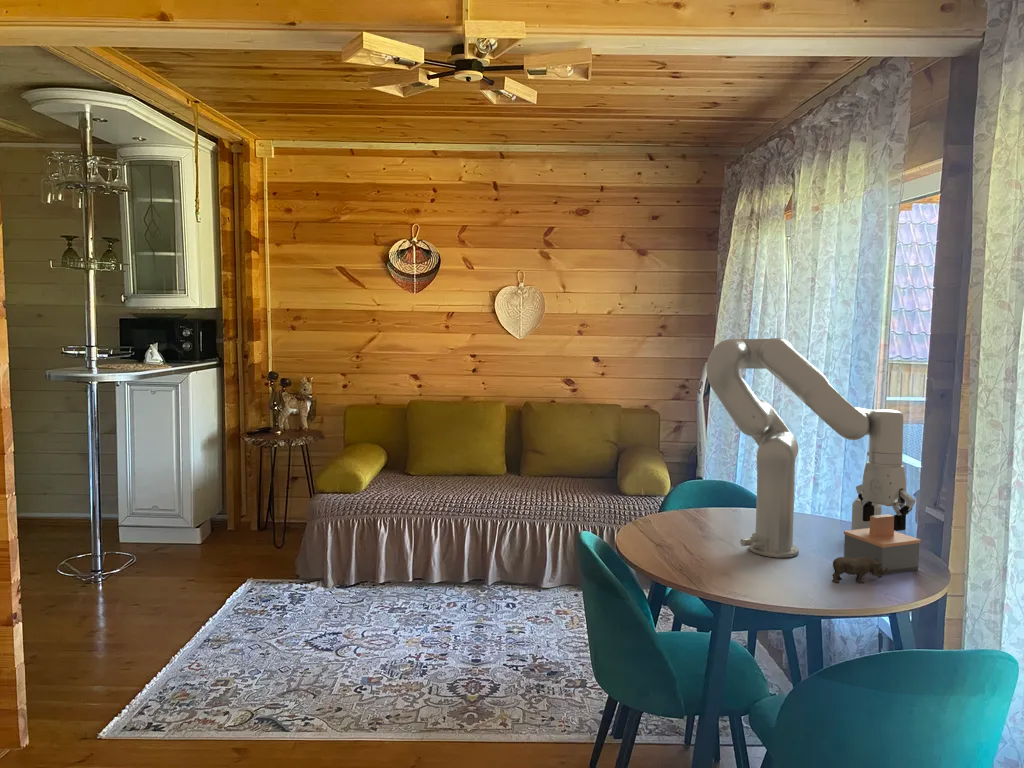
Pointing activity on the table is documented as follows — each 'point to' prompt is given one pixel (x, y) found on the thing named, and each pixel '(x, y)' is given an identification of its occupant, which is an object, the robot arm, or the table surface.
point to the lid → (882, 533)
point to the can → (861, 515)
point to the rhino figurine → (856, 568)
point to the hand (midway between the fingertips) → (883, 525)
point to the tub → (884, 555)
